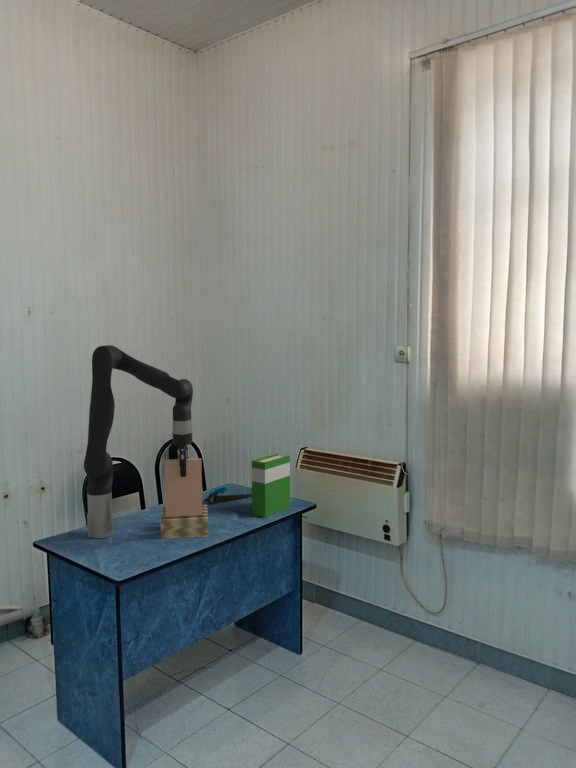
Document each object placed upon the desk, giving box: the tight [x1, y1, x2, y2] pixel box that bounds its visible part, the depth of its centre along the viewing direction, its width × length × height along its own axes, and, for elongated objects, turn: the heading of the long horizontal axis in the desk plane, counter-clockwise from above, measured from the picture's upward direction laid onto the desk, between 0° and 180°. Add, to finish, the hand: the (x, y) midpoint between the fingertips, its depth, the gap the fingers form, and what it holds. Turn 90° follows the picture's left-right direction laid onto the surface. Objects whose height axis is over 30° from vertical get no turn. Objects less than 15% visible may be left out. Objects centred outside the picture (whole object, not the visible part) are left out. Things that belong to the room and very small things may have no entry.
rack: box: [159, 504, 209, 540], centre depth 255 cm, size 18×19×8 cm
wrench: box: [203, 493, 252, 506], centre depth 298 cm, size 5×5×30 cm
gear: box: [206, 484, 228, 502], centre depth 299 cm, size 11×6×10 cm
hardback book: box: [251, 453, 291, 519], centre depth 281 cm, size 18×7×24 cm, turn 143°
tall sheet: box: [163, 458, 203, 517], centre depth 247 cm, size 14×2×22 cm, turn 98°
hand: (183, 475), depth 246 cm, fingers closed on tall sheet, 1 cm apart
